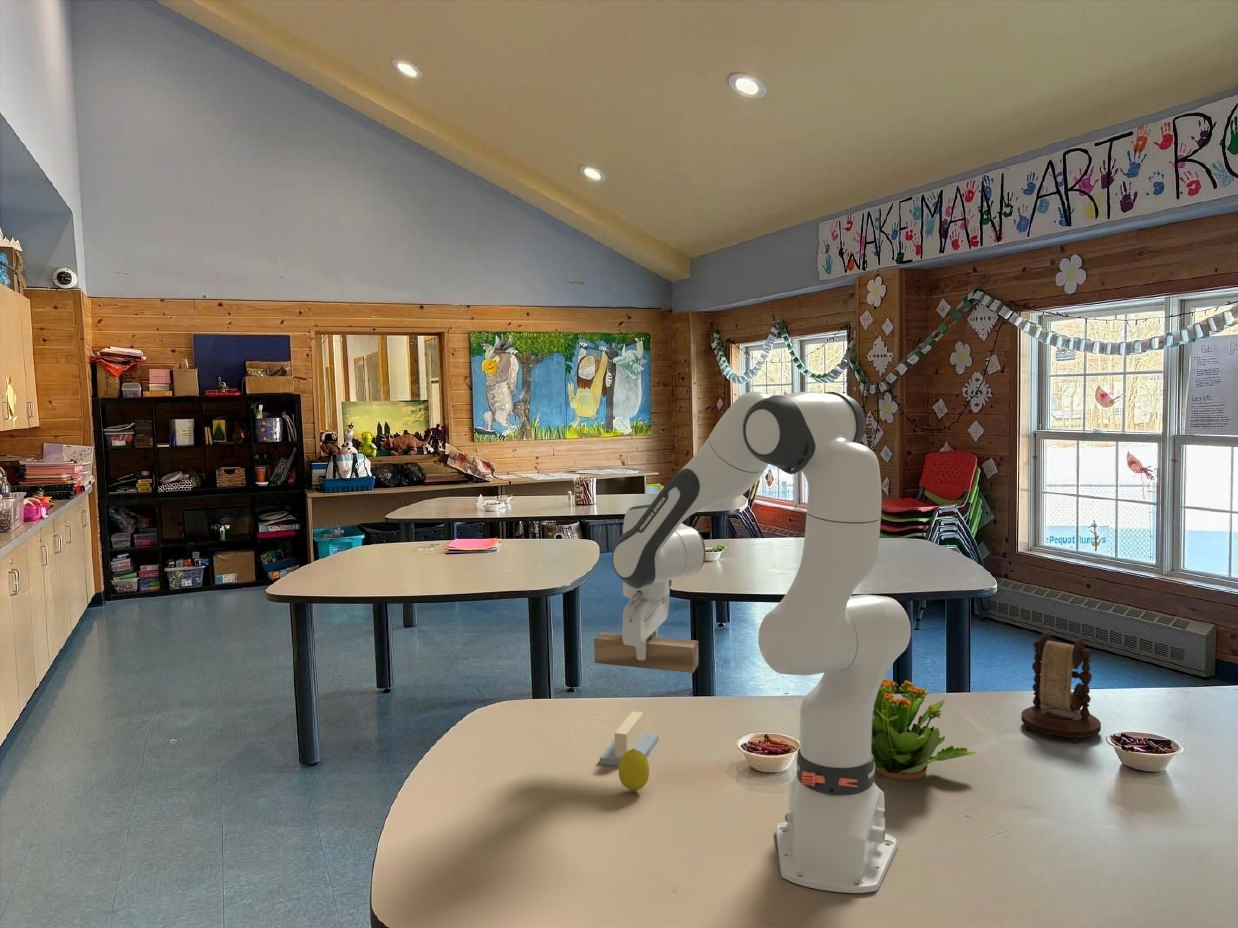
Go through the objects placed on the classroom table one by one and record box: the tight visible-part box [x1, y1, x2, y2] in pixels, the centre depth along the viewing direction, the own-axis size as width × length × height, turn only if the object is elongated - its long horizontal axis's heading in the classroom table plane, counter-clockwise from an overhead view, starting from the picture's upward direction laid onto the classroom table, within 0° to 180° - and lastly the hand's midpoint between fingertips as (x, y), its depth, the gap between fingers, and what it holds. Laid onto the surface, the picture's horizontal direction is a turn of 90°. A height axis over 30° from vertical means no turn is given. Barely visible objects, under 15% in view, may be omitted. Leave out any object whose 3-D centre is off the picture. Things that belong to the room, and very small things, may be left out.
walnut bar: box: [593, 631, 699, 674], centre depth 177 cm, size 4×20×5 cm, turn 71°
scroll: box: [1020, 632, 1102, 744], centre depth 185 cm, size 15×15×20 cm
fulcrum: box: [599, 711, 660, 767], centre depth 180 cm, size 14×8×6 cm, turn 162°
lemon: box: [618, 749, 650, 793], centre depth 162 cm, size 6×6×8 cm
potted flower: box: [871, 677, 976, 781], centre depth 167 cm, size 25×24×18 cm
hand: (646, 654), depth 177 cm, fingers closed on walnut bar, 4 cm apart
